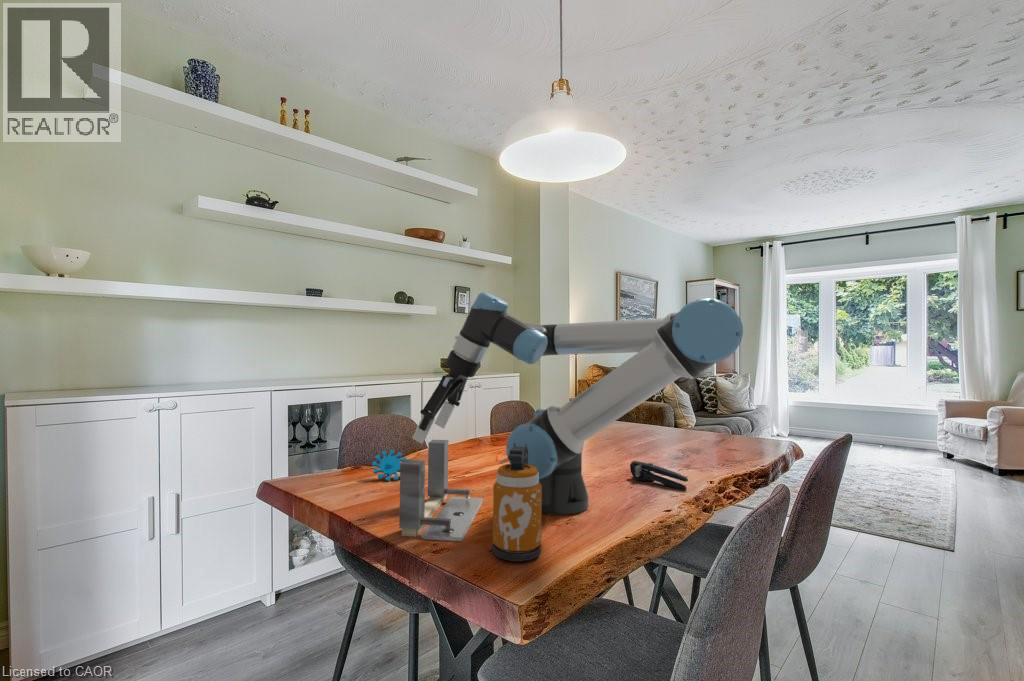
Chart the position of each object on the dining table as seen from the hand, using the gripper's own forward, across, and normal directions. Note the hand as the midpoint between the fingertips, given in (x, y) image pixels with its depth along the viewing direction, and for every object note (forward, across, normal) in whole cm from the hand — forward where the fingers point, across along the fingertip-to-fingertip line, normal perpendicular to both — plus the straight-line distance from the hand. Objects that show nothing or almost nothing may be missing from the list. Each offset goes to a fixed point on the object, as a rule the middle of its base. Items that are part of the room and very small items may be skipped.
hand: (429, 432), depth 117 cm
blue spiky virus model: (+26, -17, -8) cm, 32 cm away
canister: (+2, +22, +31) cm, 38 cm away
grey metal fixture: (+12, +8, +12) cm, 19 cm away
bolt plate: (+10, +9, +16) cm, 21 cm away
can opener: (-7, -32, +59) cm, 68 cm away
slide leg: (+12, -2, +11) cm, 17 cm away
